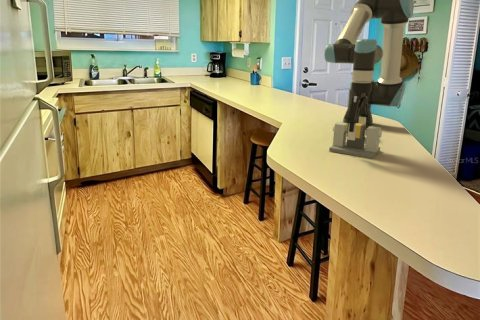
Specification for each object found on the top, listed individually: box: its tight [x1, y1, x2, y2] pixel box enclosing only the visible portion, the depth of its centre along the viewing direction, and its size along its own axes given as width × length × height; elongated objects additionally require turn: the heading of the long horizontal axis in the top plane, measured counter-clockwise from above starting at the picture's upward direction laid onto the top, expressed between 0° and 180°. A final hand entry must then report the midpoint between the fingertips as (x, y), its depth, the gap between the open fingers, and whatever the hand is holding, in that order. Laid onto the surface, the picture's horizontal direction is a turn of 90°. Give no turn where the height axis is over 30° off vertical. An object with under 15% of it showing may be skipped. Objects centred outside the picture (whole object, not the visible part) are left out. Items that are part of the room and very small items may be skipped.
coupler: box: [346, 123, 366, 139], centre depth 145 cm, size 4×6×5 cm
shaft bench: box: [328, 121, 383, 159], centre depth 146 cm, size 12×18×10 cm, turn 57°
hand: (356, 136), depth 145 cm, fingers open, 13 cm apart
